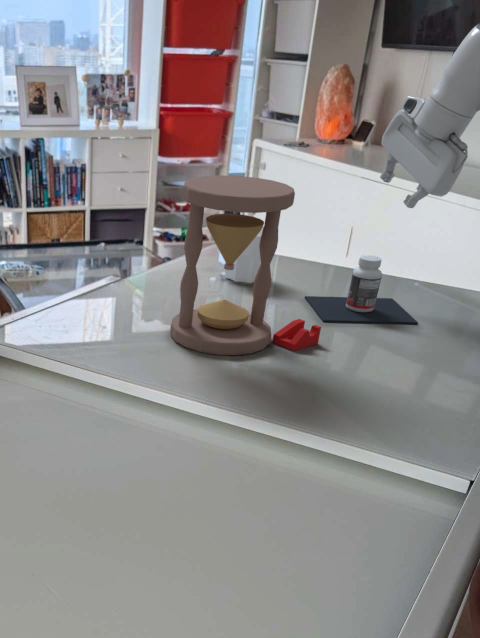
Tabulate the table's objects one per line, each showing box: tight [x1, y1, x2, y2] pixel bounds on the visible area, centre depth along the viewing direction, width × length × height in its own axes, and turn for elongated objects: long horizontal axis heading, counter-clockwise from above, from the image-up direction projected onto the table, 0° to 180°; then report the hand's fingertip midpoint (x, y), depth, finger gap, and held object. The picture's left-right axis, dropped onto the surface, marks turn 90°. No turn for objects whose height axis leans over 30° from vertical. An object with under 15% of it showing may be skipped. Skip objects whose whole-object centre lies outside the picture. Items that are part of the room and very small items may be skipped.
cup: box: [224, 225, 264, 284], centre depth 161 cm, size 10×10×10 cm
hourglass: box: [169, 175, 296, 356], centre depth 127 cm, size 18×18×25 cm
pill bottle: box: [346, 254, 383, 312], centre depth 145 cm, size 5×5×10 cm
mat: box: [304, 295, 419, 325], centre depth 148 cm, size 18×14×1 cm
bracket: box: [272, 318, 322, 352], centre depth 132 cm, size 6×5×3 cm
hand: (395, 193), depth 147 cm, fingers open, 8 cm apart
